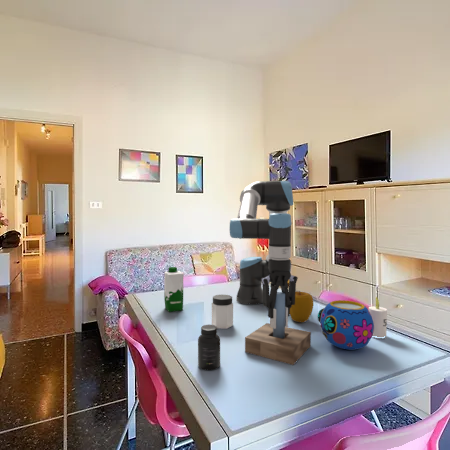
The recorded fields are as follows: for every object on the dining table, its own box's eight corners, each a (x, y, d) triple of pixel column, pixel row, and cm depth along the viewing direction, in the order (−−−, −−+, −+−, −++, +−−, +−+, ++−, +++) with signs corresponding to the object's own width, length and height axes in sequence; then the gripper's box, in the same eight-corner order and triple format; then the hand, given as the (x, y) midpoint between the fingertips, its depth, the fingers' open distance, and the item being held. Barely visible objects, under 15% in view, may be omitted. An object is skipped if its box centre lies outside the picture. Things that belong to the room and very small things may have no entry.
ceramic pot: (314, 336, 122) (314, 297, 121) (361, 337, 121) (362, 298, 120) (327, 357, 104) (328, 311, 104) (382, 358, 103) (383, 312, 103)
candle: (379, 340, 118) (380, 300, 118) (364, 334, 124) (365, 296, 123) (390, 337, 121) (391, 298, 121) (375, 331, 127) (376, 294, 126)
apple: (314, 318, 143) (315, 289, 142) (310, 326, 133) (311, 295, 132) (290, 315, 147) (290, 287, 147) (284, 322, 137) (284, 292, 137)
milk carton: (180, 305, 161) (180, 266, 161) (185, 310, 153) (185, 269, 153) (162, 307, 158) (162, 267, 157) (167, 312, 150) (167, 270, 149)
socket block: (266, 336, 122) (266, 323, 122) (310, 346, 113) (310, 332, 112) (245, 352, 107) (245, 337, 107) (293, 365, 98) (293, 349, 98)
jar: (236, 327, 131) (236, 298, 131) (218, 330, 127) (218, 300, 127) (226, 320, 139) (226, 293, 139) (209, 323, 136) (209, 295, 135)
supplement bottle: (197, 361, 101) (198, 323, 100) (219, 360, 101) (219, 322, 101) (197, 371, 94) (197, 331, 94) (221, 370, 95) (221, 330, 94)
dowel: (275, 333, 113) (276, 291, 112) (286, 336, 110) (287, 293, 110) (271, 337, 109) (271, 293, 109) (282, 339, 107) (282, 295, 107)
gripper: (263, 261, 102) (262, 333, 103) (307, 258, 109) (306, 326, 110) (252, 258, 109) (251, 326, 110) (294, 256, 116) (293, 320, 116)
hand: (278, 326), depth 110 cm, fingers closed on dowel, 4 cm apart
